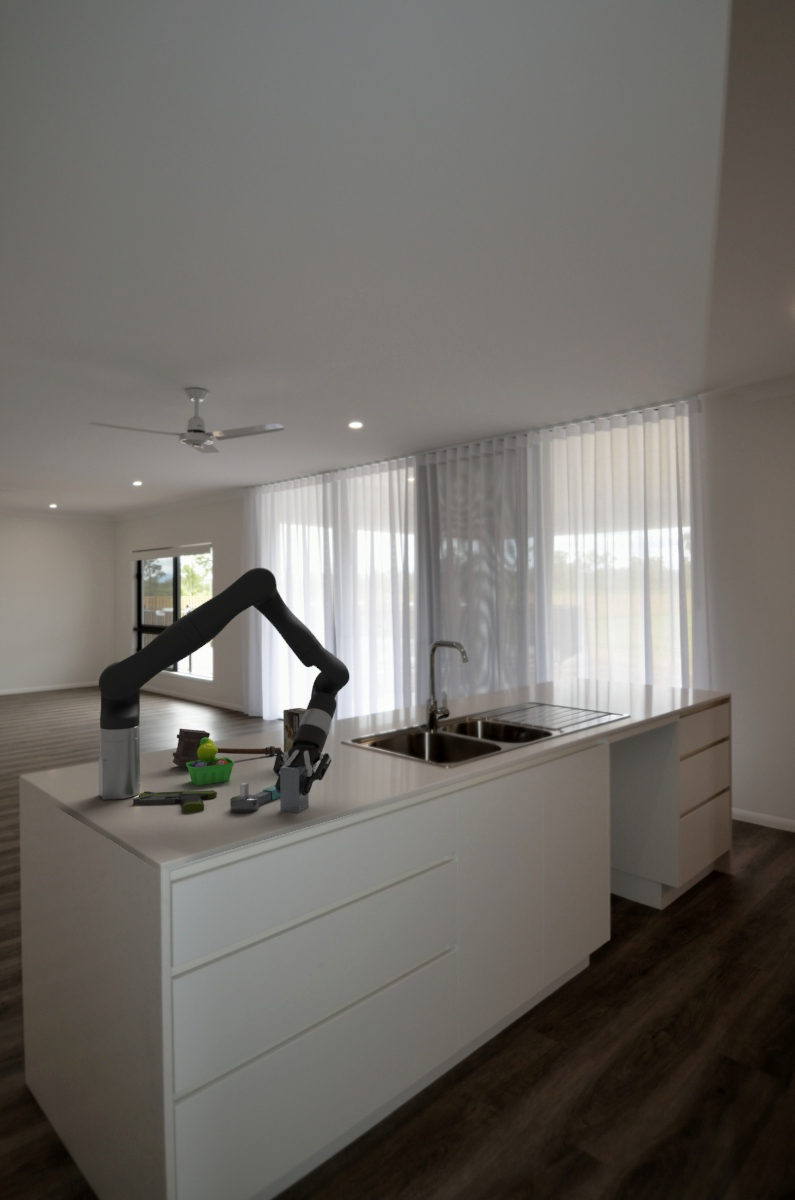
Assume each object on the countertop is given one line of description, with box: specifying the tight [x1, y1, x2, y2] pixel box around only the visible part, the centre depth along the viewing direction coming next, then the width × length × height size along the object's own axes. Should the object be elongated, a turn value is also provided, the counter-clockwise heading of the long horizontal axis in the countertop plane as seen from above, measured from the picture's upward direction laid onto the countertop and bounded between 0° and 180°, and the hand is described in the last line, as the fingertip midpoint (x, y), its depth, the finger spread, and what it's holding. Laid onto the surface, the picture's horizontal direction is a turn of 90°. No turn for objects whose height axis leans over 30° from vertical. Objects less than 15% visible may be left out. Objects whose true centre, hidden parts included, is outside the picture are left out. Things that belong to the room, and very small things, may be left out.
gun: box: [132, 789, 218, 814], centre depth 165 cm, size 2×19×15 cm
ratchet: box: [229, 782, 280, 815], centre depth 165 cm, size 19×6×6 cm, turn 152°
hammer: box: [172, 728, 282, 768], centre depth 208 cm, size 7×33×10 cm, turn 123°
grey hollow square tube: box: [279, 763, 309, 814], centre depth 160 cm, size 5×5×10 cm
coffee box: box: [282, 707, 318, 767], centre depth 203 cm, size 9×6×16 cm
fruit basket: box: [186, 737, 235, 786], centre depth 186 cm, size 11×9×11 cm
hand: (291, 792), depth 158 cm, fingers open, 5 cm apart
